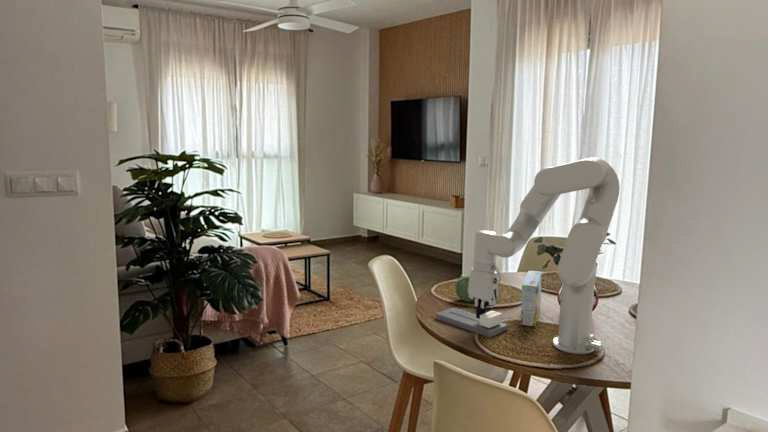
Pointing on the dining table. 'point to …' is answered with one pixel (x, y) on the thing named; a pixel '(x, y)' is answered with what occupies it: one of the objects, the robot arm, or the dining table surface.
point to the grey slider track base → (469, 322)
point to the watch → (499, 275)
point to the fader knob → (490, 319)
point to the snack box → (531, 298)
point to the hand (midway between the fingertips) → (480, 317)
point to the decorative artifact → (462, 288)
